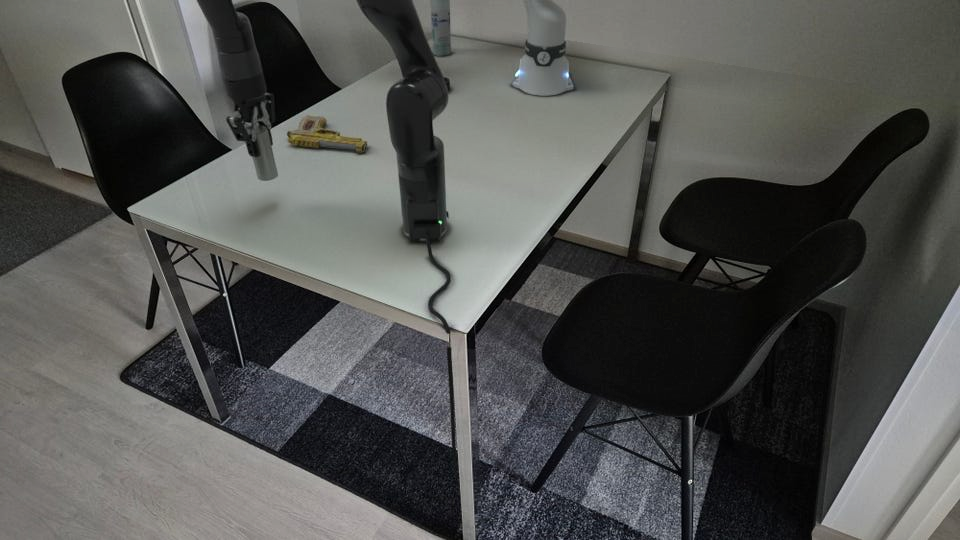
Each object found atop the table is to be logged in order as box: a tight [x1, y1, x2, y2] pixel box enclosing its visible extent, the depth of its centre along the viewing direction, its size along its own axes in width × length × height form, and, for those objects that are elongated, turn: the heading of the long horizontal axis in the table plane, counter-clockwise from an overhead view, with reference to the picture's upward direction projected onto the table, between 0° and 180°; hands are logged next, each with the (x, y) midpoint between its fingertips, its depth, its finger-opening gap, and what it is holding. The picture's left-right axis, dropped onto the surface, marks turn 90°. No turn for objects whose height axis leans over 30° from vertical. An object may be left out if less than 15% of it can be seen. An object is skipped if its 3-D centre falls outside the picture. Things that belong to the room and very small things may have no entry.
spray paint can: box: [429, 0, 452, 57], centre depth 212 cm, size 6×6×20 cm
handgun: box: [286, 115, 368, 154], centre depth 166 cm, size 2×23×15 cm
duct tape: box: [443, 76, 451, 92], centre depth 191 cm, size 8×10×3 cm
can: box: [247, 125, 279, 182], centre depth 132 cm, size 4×4×11 cm
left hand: (261, 150), depth 132 cm, fingers closed on can, 4 cm apart
